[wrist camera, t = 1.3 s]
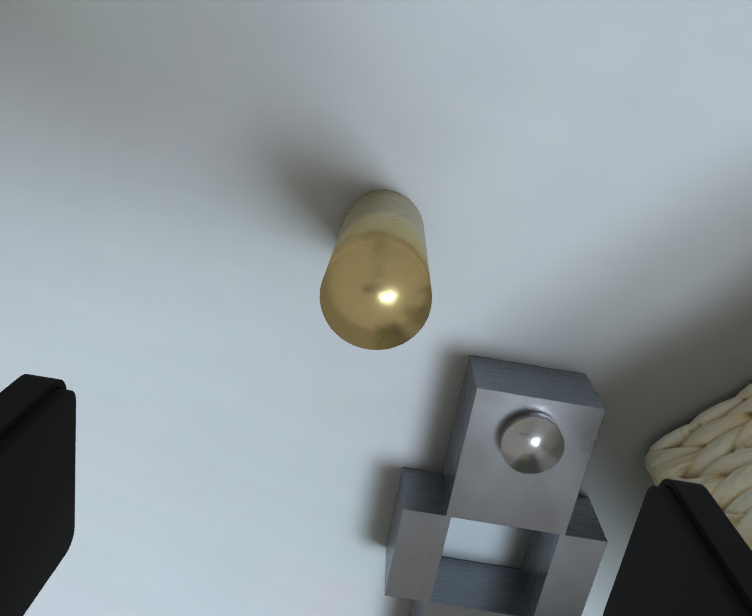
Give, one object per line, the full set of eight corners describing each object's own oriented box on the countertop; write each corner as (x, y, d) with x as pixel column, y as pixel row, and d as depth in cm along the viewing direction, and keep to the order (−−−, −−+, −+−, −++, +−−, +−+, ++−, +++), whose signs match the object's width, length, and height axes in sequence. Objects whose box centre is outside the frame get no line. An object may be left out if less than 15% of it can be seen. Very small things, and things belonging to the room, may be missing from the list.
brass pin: (349, 184, 26) (327, 235, 19) (430, 197, 26) (441, 254, 19) (337, 261, 27) (313, 340, 20) (415, 275, 27) (420, 357, 20)
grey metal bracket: (428, 348, 28) (431, 387, 25) (627, 381, 28) (657, 424, 25) (366, 641, 34) (362, 705, 31) (532, 667, 34) (546, 733, 31)
